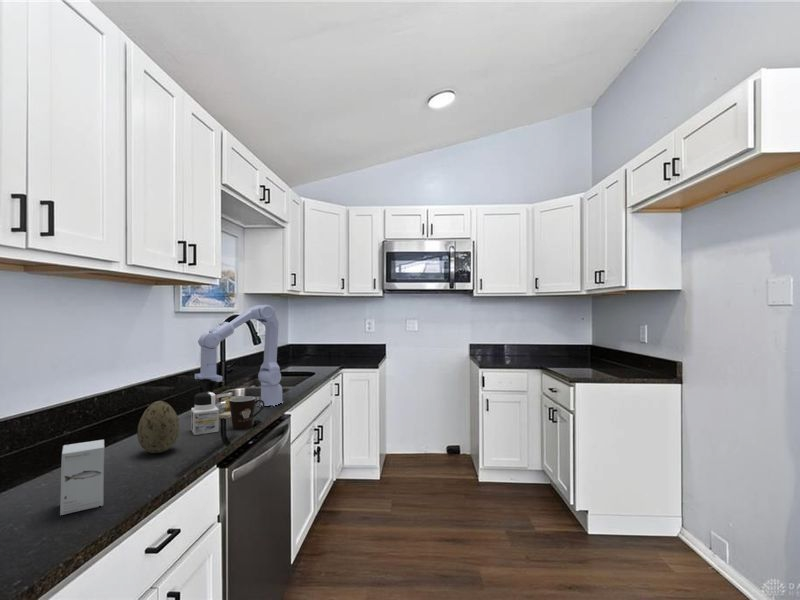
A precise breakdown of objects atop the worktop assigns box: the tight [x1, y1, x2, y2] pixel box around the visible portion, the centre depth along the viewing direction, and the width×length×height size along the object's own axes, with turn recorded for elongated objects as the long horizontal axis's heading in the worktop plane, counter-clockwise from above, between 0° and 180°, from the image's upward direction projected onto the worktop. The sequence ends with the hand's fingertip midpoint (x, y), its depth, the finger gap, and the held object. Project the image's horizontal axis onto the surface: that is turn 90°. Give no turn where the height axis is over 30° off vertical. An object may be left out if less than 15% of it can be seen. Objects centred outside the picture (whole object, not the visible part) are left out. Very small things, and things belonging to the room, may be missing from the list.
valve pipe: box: [215, 395, 243, 414], centre depth 170 cm, size 15×4×5 cm, turn 164°
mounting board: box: [219, 409, 231, 420], centre depth 170 cm, size 16×13×1 cm
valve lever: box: [215, 391, 234, 400], centre depth 166 cm, size 13×2×1 cm, turn 147°
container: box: [190, 391, 220, 436], centre depth 145 cm, size 8×8×13 cm
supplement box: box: [59, 439, 105, 516], centre depth 90 cm, size 7×7×13 cm
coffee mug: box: [229, 396, 265, 431], centre depth 150 cm, size 12×9×10 cm
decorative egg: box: [137, 400, 180, 454], centre depth 123 cm, size 11×11×15 cm
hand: (208, 398), depth 164 cm, fingers closed, pressing on valve lever
